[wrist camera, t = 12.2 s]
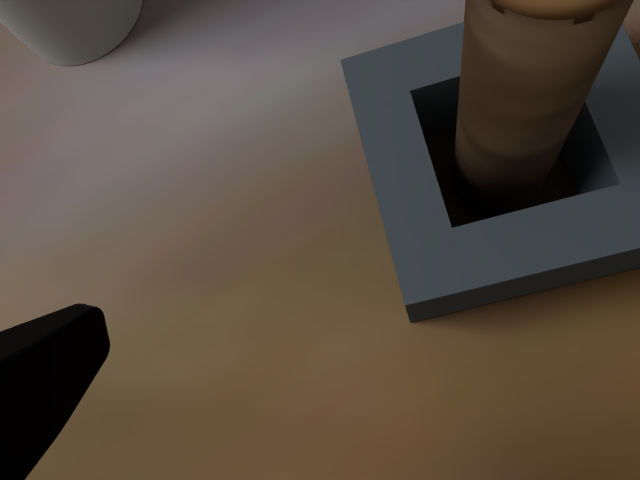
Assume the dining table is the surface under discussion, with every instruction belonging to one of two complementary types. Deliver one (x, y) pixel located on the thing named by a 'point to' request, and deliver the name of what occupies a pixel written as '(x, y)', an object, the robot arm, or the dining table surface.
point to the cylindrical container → (70, 27)
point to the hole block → (508, 229)
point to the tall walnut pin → (524, 93)
